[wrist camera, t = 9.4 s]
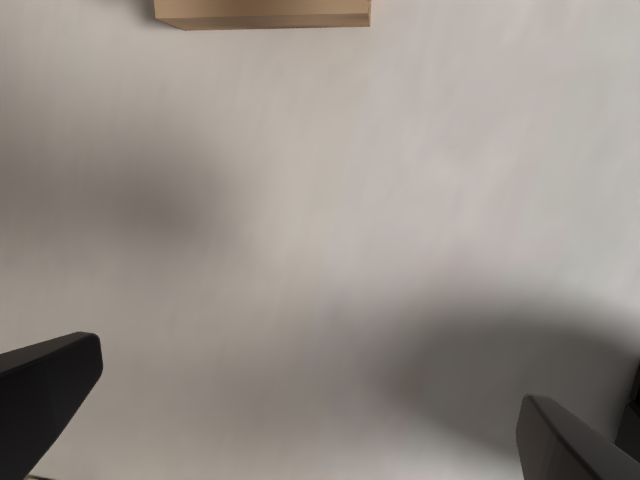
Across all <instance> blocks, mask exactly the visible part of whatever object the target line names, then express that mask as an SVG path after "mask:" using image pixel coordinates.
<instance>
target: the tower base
mask: <svg viewBox="0 0 640 480" xmlns="http://www.w3.org/2000/svg"><path fill="white" fill-rule="evenodd" d="M154 9H155V18H156V19H158V20H160V21H163V22H165V23H168V24H170V25H173V26H175V27H178V28H180V29H183V30H185V31H186V30H232V29H277V28H323V27H369V26H370V16H371V0H154Z"/></svg>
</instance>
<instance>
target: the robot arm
mask: <svg viewBox="0 0 640 480" xmlns="http://www.w3.org/2000/svg"><path fill="white" fill-rule="evenodd" d="M102 371H103V360H102V352H101V344H100V339H99V337H98V336H97V335H96V334H94V333H87V332H75V333H72V334H68V335H65V336H61V337H58V338H54V339H51V340H48V341H44V342H41V343H37V344H34V345H30V346H27V347H23V348H20V349H16V350H13V351H10V352H6V353H3V354H0V480H24V479H25V477H26V476H27V475H28V474H29V472H30V471H31V470H32V469H33V468H34V466H35V465H36V464H37V463H38V462H39V460H40V459H41V458H42V457H43V456H44V454H45V453H46V452H47V451H48V450H49V448H50V447H51V446H52V445H53V443H54V442H55V441H56V440H57V438H58V437H59V436H60V434H61V433H62V431H63V430H64V429H65V427H66V426H67V424H68V423H69V422H70V420H71V419H72V417H73V416H74V414H75V413H76V411H77V410H78V409H79V407H80V406H81V404H82V403H83V401H84V400H85V398H86V397H87V396H88V394H89V393H90V391H91V390H92V388H93V387H94V385H95V384H96V383H97V381H98V380H99V378H100V376H101V374H102ZM516 442H517V447H518V452H519V456H520V461H521V466H522V471H523V476H524V480H640V365H639V367H638V370H637V373H636V377H635V381H634V384H633V388H632V391H631V395H630V399H629V401H628V403H627V404H626V406H625V410H624V414H623V417H622V421H621V425H620V428H619V432H618V435H617V439H616V443H615V444H616V446H615V445H614V444H613V443H611V442H610V441H608V440H607V439H606V438H604V437H603V436H602V435H600V434H599V433H598V432H596V431H595V430H594V429H592V428H591V427H590V426H588V425H587V424H586V423H584V422H583V421H582V420H580V419H579V418H578V417H576V416H575V415H574V414H572V413H571V412H570V411H568V410H567V409H565V408H564V407H563V406H561V405H560V404H559V403H557V402H556V401H555V400H553V399H552V398H551V397H548V396H544V395H536V394H527V395H525V397H524V398H523V401H522V405H521V410H520V414H519V419H518V423H517V428H516Z"/></svg>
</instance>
